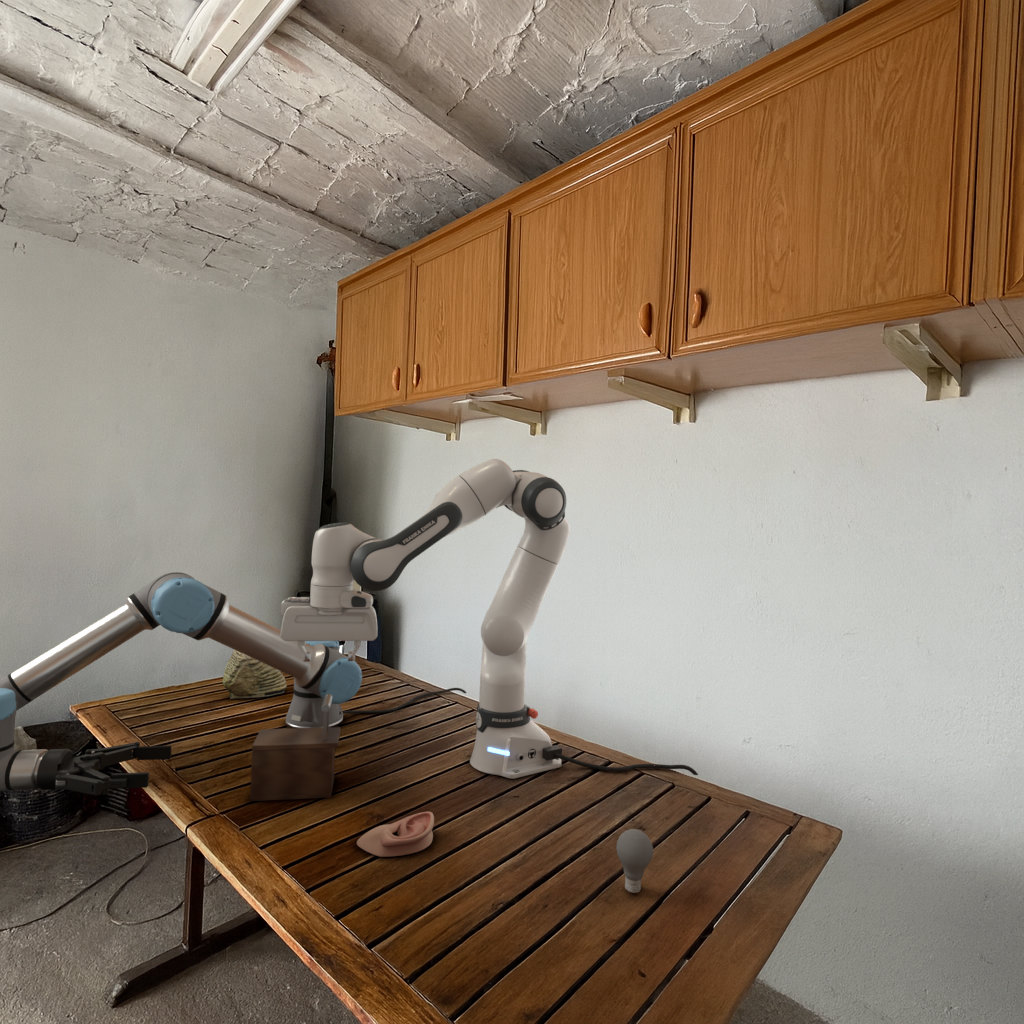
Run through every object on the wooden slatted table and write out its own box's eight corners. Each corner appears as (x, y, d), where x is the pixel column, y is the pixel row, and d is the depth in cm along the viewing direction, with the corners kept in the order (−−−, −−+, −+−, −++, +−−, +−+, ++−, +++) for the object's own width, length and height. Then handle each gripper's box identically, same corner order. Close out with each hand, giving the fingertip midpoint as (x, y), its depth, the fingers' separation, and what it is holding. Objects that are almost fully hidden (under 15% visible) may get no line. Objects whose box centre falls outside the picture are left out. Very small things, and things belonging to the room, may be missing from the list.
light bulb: (610, 879, 108) (613, 822, 108) (644, 879, 109) (647, 822, 109) (619, 902, 102) (622, 840, 102) (655, 901, 103) (658, 840, 103)
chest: (334, 778, 143) (336, 732, 143) (330, 797, 134) (332, 748, 133) (258, 781, 140) (260, 734, 139) (250, 801, 130) (252, 751, 130)
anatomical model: (349, 829, 113) (376, 800, 125) (348, 851, 113) (375, 820, 125) (420, 841, 111) (440, 810, 122) (419, 863, 111) (439, 830, 122)
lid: (340, 731, 143) (342, 692, 143) (337, 748, 134) (339, 705, 134) (260, 733, 139) (262, 693, 139) (252, 750, 130) (253, 707, 130)
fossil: (218, 695, 195) (220, 647, 195) (278, 685, 208) (279, 640, 207) (228, 703, 189) (230, 653, 188) (289, 692, 201) (290, 645, 201)
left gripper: (73, 762, 139) (178, 758, 143) (7, 819, 115) (136, 812, 119) (74, 728, 139) (179, 725, 143) (9, 778, 115) (137, 773, 119)
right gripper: (278, 599, 132) (276, 665, 132) (378, 600, 136) (376, 664, 136) (283, 594, 138) (281, 657, 138) (379, 595, 142) (376, 656, 142)
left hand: (160, 765), depth 131 cm, fingers open, 13 cm apart
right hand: (329, 660), depth 137 cm, fingers open, 8 cm apart
